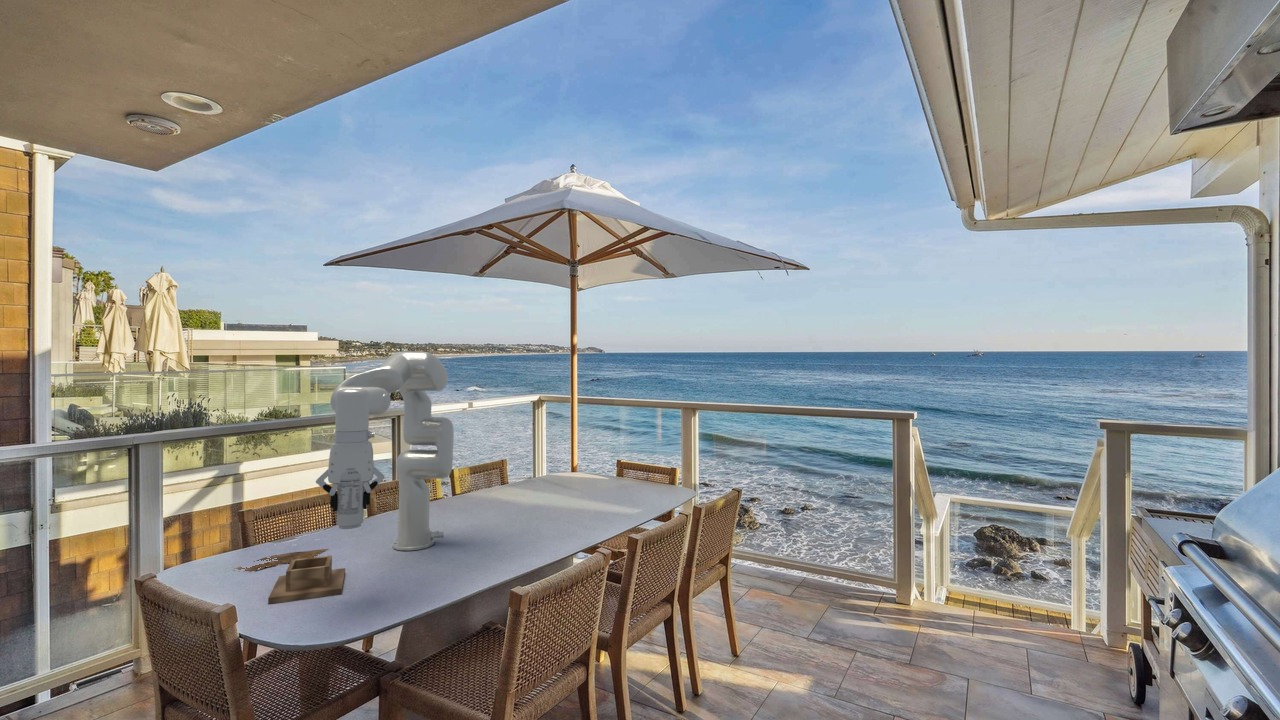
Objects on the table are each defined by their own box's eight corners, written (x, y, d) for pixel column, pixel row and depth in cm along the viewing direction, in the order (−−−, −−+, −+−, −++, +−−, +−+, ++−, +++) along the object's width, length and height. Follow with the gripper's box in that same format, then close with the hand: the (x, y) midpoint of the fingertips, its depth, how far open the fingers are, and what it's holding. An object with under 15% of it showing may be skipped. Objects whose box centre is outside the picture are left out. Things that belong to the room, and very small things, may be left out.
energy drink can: (367, 522, 144) (368, 464, 144) (356, 529, 138) (358, 469, 138) (343, 522, 144) (344, 464, 144) (331, 529, 138) (333, 468, 138)
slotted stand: (345, 573, 159) (345, 550, 159) (341, 594, 145) (341, 568, 145) (279, 581, 153) (279, 557, 153) (268, 604, 138) (268, 577, 138)
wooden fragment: (238, 576, 157) (238, 572, 157) (228, 567, 164) (228, 563, 164) (336, 555, 176) (336, 551, 176) (323, 547, 183) (323, 544, 183)
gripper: (389, 434, 148) (387, 502, 148) (314, 437, 141) (312, 508, 141) (389, 438, 141) (388, 509, 141) (310, 441, 134) (309, 516, 134)
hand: (350, 508), depth 141 cm, fingers closed on energy drink can, 6 cm apart
